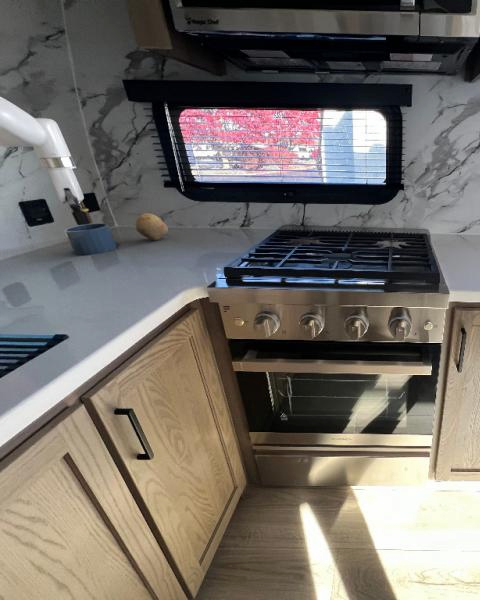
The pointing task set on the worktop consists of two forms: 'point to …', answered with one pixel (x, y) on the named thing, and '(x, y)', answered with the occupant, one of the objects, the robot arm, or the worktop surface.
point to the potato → (151, 226)
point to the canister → (91, 239)
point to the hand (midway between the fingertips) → (84, 222)
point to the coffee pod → (87, 214)
